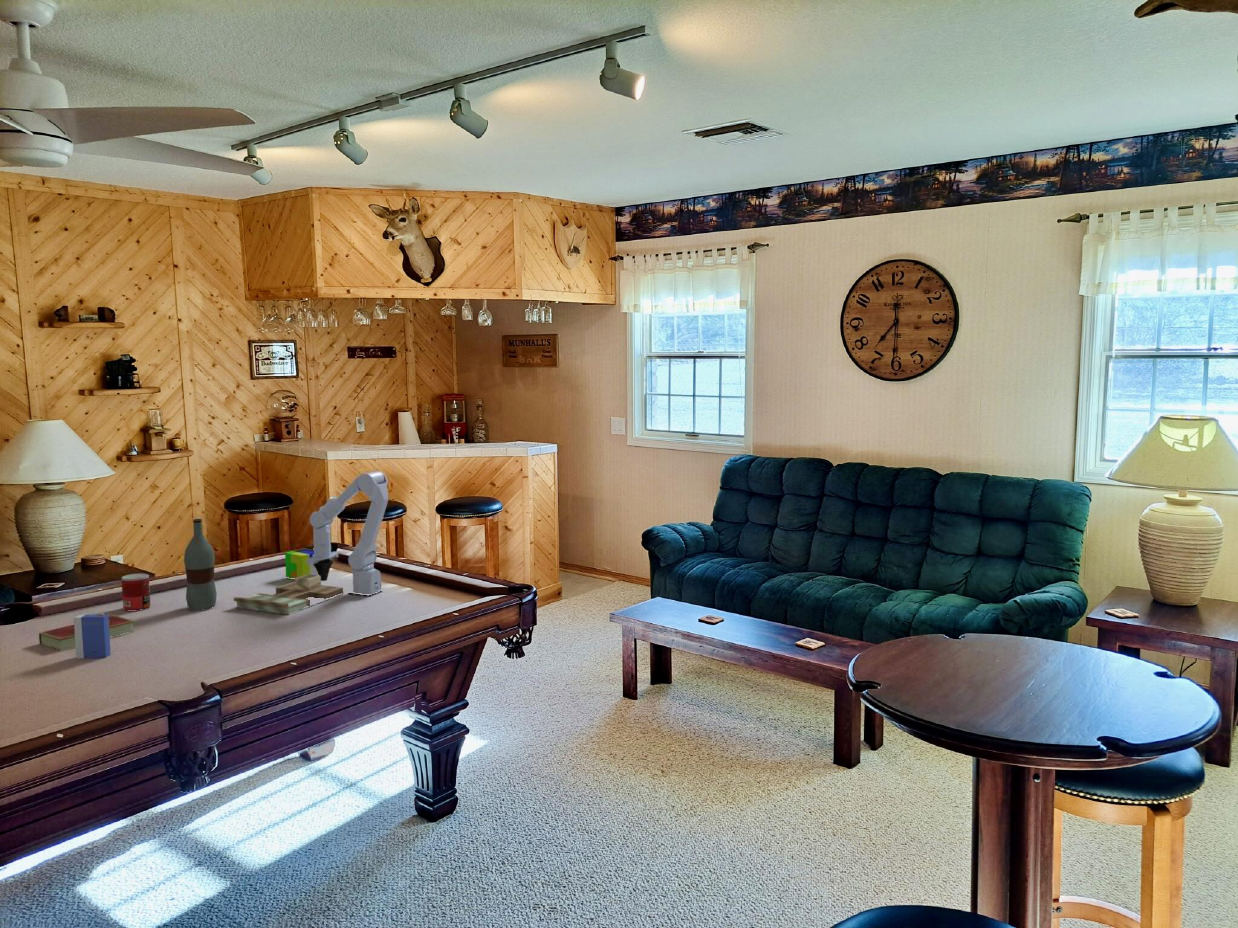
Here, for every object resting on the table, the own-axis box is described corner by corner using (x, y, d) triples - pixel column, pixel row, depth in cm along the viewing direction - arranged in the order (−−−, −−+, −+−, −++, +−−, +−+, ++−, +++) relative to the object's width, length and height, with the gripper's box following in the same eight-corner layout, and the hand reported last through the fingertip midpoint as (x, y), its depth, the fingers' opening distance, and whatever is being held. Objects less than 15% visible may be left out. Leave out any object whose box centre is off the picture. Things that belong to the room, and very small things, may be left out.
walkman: (110, 654, 238) (108, 612, 237) (105, 657, 235) (103, 615, 234) (81, 655, 237) (78, 613, 236) (75, 658, 235) (73, 616, 233)
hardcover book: (39, 645, 247) (38, 631, 246) (113, 627, 265) (112, 613, 264) (60, 652, 240) (59, 638, 240) (135, 633, 258) (134, 619, 258)
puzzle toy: (324, 576, 328) (323, 551, 327) (302, 581, 320) (302, 555, 319) (307, 573, 333) (307, 548, 332) (286, 578, 325) (285, 552, 324)
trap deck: (343, 594, 302) (342, 584, 301) (286, 615, 276) (285, 604, 276) (294, 588, 310) (293, 578, 309) (234, 608, 284) (233, 597, 283)
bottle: (222, 603, 289) (218, 517, 286) (207, 611, 280) (202, 522, 277) (196, 603, 290) (192, 516, 287) (180, 610, 281) (175, 521, 278)
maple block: (320, 586, 303) (320, 575, 302) (309, 590, 297) (308, 579, 297) (307, 585, 305) (307, 574, 304) (295, 589, 299) (295, 578, 299)
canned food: (148, 610, 281) (147, 577, 280) (121, 612, 278) (119, 579, 277) (152, 604, 288) (150, 572, 287) (125, 606, 286) (123, 574, 284)
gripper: (327, 539, 315) (328, 574, 316) (299, 546, 301) (300, 583, 303) (342, 540, 312) (343, 576, 314) (315, 548, 299) (316, 585, 300)
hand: (323, 580), depth 308 cm, fingers closed
